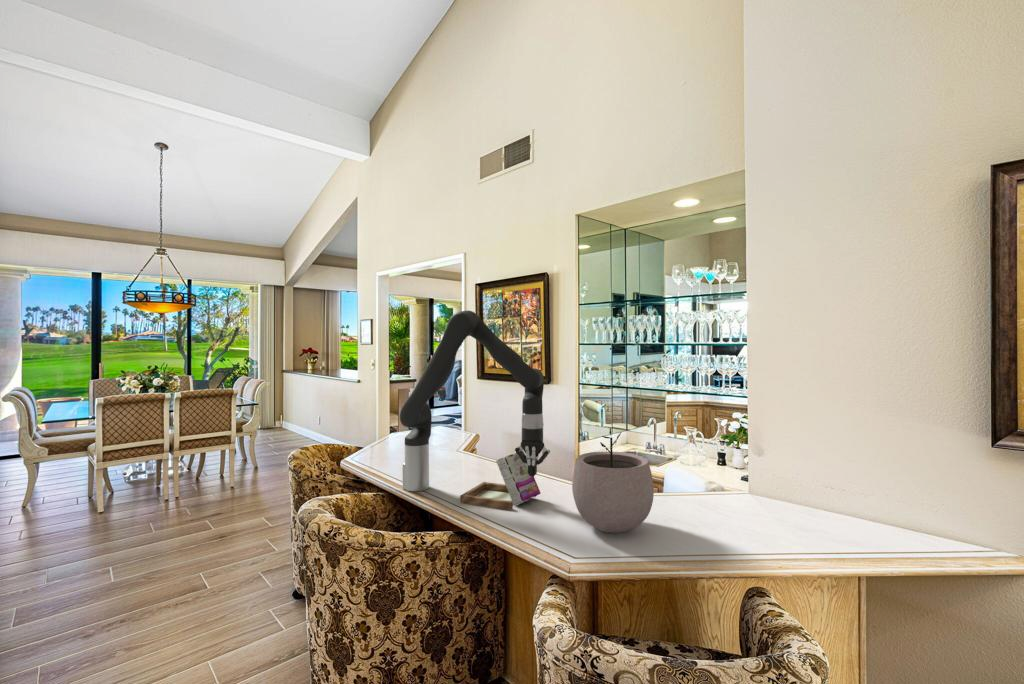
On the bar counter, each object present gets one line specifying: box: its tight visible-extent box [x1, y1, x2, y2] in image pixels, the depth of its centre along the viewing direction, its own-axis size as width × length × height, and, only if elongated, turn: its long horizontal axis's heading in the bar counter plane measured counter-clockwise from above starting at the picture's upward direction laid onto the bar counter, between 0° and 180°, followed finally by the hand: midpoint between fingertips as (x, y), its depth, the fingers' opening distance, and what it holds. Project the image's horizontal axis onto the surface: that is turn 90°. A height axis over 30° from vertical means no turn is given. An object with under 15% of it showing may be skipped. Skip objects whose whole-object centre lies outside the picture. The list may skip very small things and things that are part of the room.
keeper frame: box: [459, 481, 514, 511], centre depth 169 cm, size 20×18×2 cm
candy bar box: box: [495, 452, 541, 506], centre depth 167 cm, size 11×5×16 cm, turn 143°
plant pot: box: [571, 427, 655, 534], centre depth 141 cm, size 24×24×30 cm
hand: (532, 475), depth 164 cm, fingers closed
